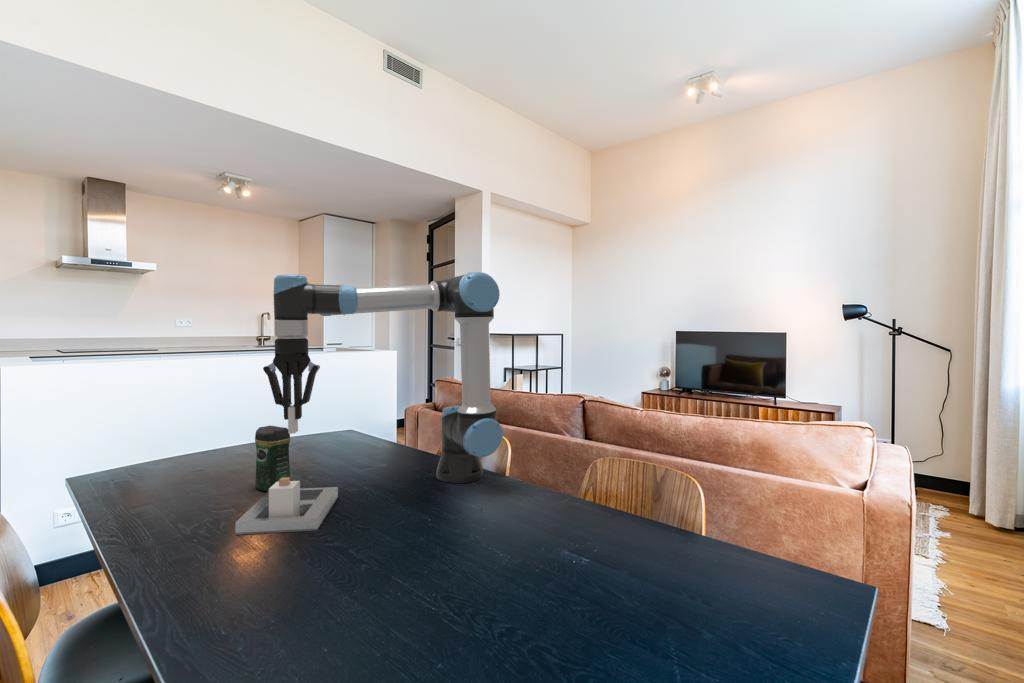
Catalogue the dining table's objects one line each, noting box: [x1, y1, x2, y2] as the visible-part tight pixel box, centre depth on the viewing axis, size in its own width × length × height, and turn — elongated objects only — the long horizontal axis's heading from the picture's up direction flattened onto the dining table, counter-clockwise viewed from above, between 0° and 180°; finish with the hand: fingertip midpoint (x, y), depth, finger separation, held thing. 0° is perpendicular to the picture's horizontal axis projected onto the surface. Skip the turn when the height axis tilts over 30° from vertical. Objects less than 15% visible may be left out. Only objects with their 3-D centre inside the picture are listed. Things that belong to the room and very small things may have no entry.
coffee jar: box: [254, 425, 291, 492], centre depth 140 cm, size 10×8×19 cm
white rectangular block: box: [268, 476, 301, 518], centre depth 114 cm, size 6×6×10 cm
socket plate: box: [235, 486, 339, 536], centre depth 120 cm, size 18×22×3 cm
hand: (293, 432), depth 116 cm, fingers closed
